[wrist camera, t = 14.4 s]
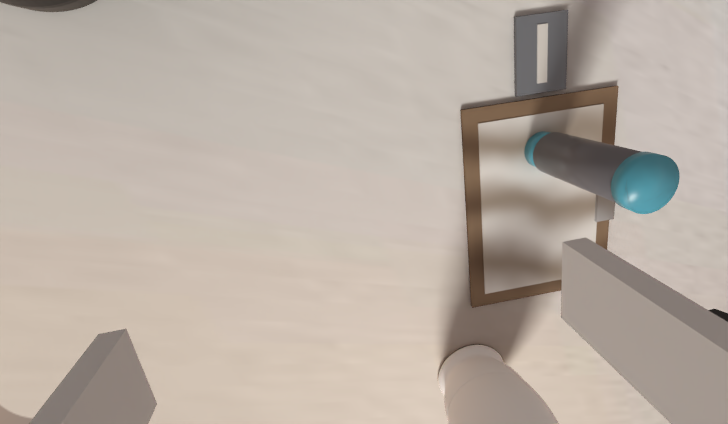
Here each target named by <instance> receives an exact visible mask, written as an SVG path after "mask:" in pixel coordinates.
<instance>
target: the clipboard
mask: <svg viewBox="0 0 728 424" xmlns="http://www.w3.org/2000/svg"><path fill="white" fill-rule="evenodd" d="M617 98H618V86H611V87H605V88H598V89H592V90H586V91H579V92H573V93H566V94H560V95H553V96H547V97H541V98H534V99H528V100H521V101H515V102H508V103H502V104H495V105H489V106H483V107H476V108H470V109H463V110H461V127H462V146H463V164H464V182H465V201H466V219H467V237H468V256H469V274H470V292H471V306H472V308H473V307H478V306H483V305H488V304H494V303H499V302H504V301H509V300H514V299H519V298H524V297H529V296H534V295H539V294H544V293H550V292H555V291H560V290H561V287H562V242H565V241H570V240H575V239H580V238H585V237H586V238H588V239H589V240H591V241H593V242H594V243H596V244H598V245H599V246H601V247H603V248H604V249H606V250H607V241H608V227H609V220H610V219H614V208H615V202H613V201H610V200H608V199H606V198H603V197H601V196H598V195H596V194H594V193H591V192H589V191H586V190H584V189H582V188H579V187H577V186H575V185H572V184H570V183H567V182H565V181H563V180H560V179H558V178H555V177H553V176H551V175H548V174H546V173H543V172H541V171H540V170H538V169H537V167H534V166H532V165H530V164H529V163H528V162H527V160H526V158H525V155H524V150H525V146H526V143H527V141H528V140H529V139H530V138H531V137H532V136H533V135H534V134H536V133H538V132H542V131H546V132H551V133H552V132H560V133H564V134H568V135H572V136H577V137H581V138H585V139H589V140H594V141H598V142H602V143H606V144H610V145H614V141H615V127H616V113H617Z"/></svg>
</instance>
